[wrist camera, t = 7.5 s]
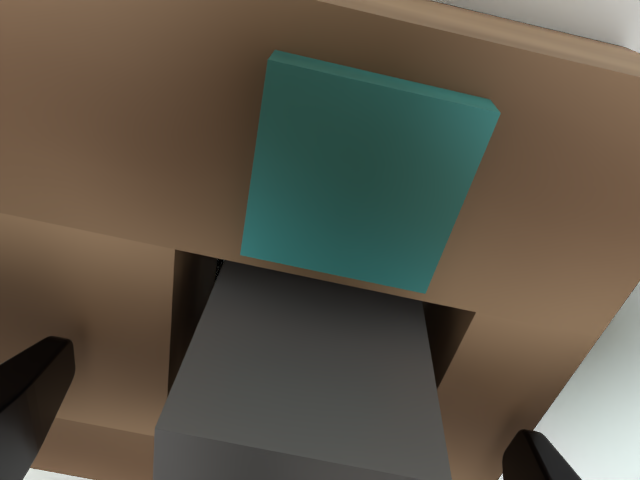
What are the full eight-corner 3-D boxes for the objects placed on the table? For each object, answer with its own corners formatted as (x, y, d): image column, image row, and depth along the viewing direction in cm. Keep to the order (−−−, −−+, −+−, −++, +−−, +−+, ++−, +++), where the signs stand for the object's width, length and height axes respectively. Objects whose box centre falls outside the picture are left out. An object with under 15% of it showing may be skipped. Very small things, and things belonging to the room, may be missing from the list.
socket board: (432, 418, 16) (454, 570, 12) (-118, 310, 15) (-279, 437, 11) (625, 47, 10) (798, 121, 6) (-300, -175, 9) (-808, -259, 5)
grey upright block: (368, 334, 15) (374, 609, 9) (236, 307, 14) (149, 569, 8) (408, 222, 12) (452, 486, 6) (254, 188, 12) (154, 428, 6)
